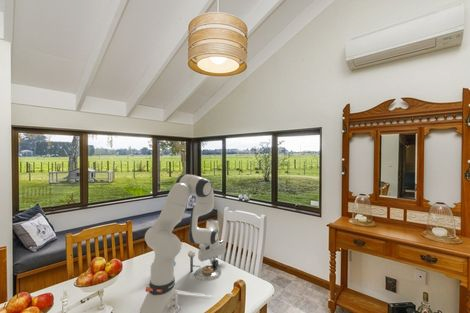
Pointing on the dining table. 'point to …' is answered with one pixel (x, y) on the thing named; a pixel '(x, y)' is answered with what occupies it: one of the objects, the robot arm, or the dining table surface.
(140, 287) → the dining table surface
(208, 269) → the cover
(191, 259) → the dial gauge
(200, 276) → the turntable
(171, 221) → the robot arm
